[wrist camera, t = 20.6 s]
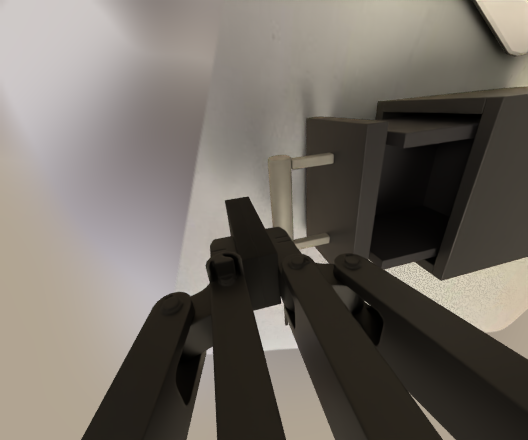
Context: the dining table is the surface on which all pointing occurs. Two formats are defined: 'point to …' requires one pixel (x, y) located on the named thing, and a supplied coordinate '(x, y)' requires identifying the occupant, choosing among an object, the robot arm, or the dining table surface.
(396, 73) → the dining table surface
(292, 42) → the dining table surface
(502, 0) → the plate
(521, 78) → the dining table surface
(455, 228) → the dark grey box
